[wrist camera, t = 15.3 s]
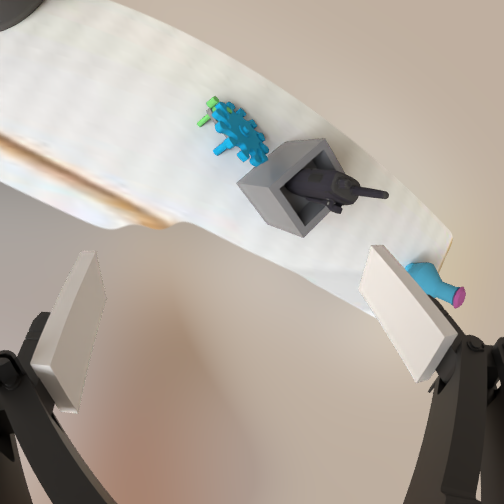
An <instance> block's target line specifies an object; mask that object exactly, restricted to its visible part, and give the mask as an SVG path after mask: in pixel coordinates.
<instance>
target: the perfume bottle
mask: <svg viewBox="0 0 504 504" xmlns="http://www.w3.org/2000/svg"><path fill="white" fill-rule="evenodd" d="M405 270H406V271H407V272H408V273H409V274H410V276H411V277H412V278H413V279H414V280H415V281H416V282H417V284H418V285H419V286H420V287H421V288H422V290H423V291H424V292H425V293H426V294H427V295H428V294H429V295H431V296H432V297H433V298H436V297H438V298H439V299H442V300H444V301H446V302H448V303H451V305H453V306H454V308H458V307H459V306H461V305H462V303H463V302H464V299H465V295H466V293H465V289H464V287H455V286H452V285H450V284H447V283H444V282H442V280H441V278H440V276H439V274H438V272H437V270H436V268H435V266H434V265H433V264H431V263H427V262H426V263H416V264H414V263H411V264H409V265H408V266H406V268H405Z"/></svg>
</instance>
